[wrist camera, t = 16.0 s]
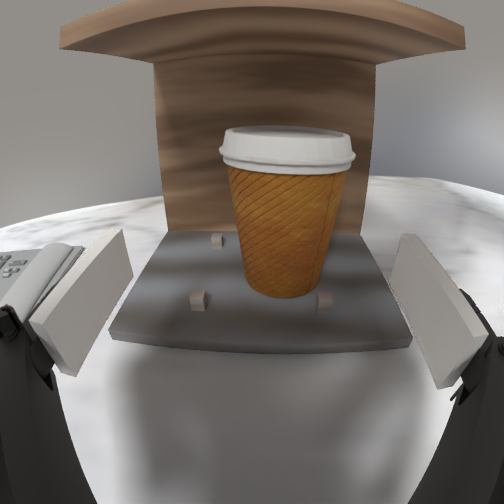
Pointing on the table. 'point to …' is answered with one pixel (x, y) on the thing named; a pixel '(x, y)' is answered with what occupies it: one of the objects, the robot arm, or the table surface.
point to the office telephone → (33, 274)
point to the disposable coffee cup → (285, 201)
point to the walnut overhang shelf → (215, 169)
